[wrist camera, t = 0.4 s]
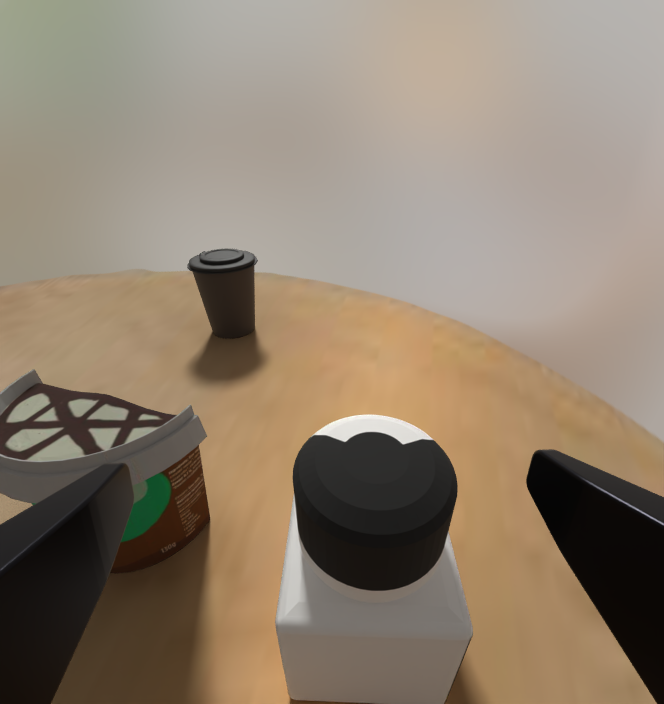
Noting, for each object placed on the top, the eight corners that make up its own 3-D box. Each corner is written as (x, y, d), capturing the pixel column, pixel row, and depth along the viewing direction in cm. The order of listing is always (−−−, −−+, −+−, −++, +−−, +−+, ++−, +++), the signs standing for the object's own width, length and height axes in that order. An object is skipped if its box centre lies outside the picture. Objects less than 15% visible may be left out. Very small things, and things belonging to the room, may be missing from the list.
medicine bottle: (446, 709, 16) (511, 555, 10) (287, 702, 17) (256, 548, 10) (419, 552, 23) (450, 396, 16) (303, 549, 23) (289, 394, 17)
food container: (0, 556, 23) (-102, 436, 17) (85, 479, 28) (27, 367, 22) (166, 629, 19) (102, 506, 14) (229, 525, 24) (199, 406, 19)
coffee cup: (196, 323, 50) (180, 248, 45) (255, 310, 53) (245, 240, 48) (208, 350, 44) (190, 267, 38) (273, 334, 47) (265, 256, 42)
